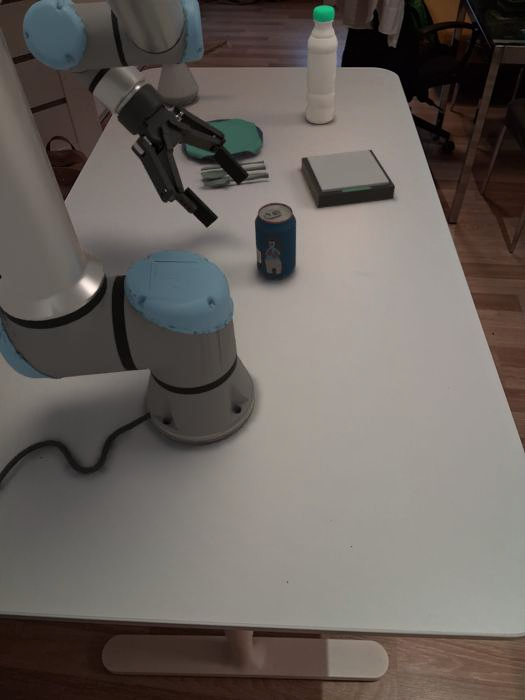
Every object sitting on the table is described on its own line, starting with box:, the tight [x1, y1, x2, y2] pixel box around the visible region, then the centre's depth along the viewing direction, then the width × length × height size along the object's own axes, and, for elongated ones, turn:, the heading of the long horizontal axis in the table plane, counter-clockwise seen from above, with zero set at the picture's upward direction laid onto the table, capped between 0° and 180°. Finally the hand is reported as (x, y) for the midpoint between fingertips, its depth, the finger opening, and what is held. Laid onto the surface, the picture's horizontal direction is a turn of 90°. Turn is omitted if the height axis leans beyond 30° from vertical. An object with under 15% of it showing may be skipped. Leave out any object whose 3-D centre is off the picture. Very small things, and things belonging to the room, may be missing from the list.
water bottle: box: [305, 5, 339, 125], centre depth 129 cm, size 7×7×25 cm
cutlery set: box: [180, 118, 270, 188], centre depth 126 cm, size 20×30×2 cm, turn 9°
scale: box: [300, 149, 396, 209], centre depth 115 cm, size 16×16×3 cm
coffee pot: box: [156, 39, 232, 106], centre depth 144 cm, size 21×12×15 cm, turn 86°
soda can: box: [254, 202, 297, 281], centre depth 93 cm, size 7×7×12 cm
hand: (229, 200), depth 90 cm, fingers open, 13 cm apart
